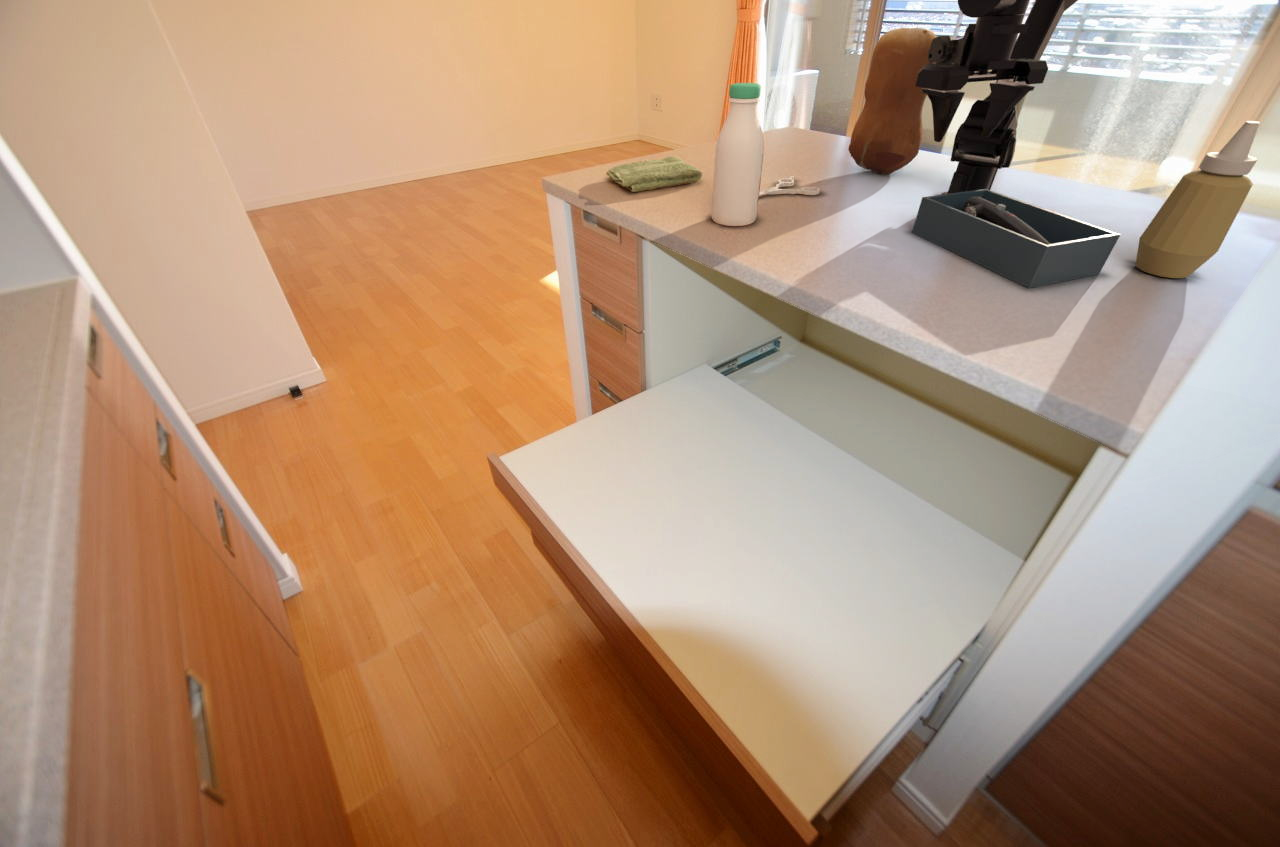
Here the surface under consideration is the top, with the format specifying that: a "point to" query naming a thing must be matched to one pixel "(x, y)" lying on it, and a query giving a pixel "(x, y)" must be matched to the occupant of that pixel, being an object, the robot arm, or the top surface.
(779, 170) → the top surface
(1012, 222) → the can opener
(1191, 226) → the squeeze bottle
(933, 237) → the bin
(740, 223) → the milk bottle
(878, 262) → the top surface
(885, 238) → the top surface
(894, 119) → the butternut squash
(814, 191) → the scissors
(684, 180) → the washcloth
